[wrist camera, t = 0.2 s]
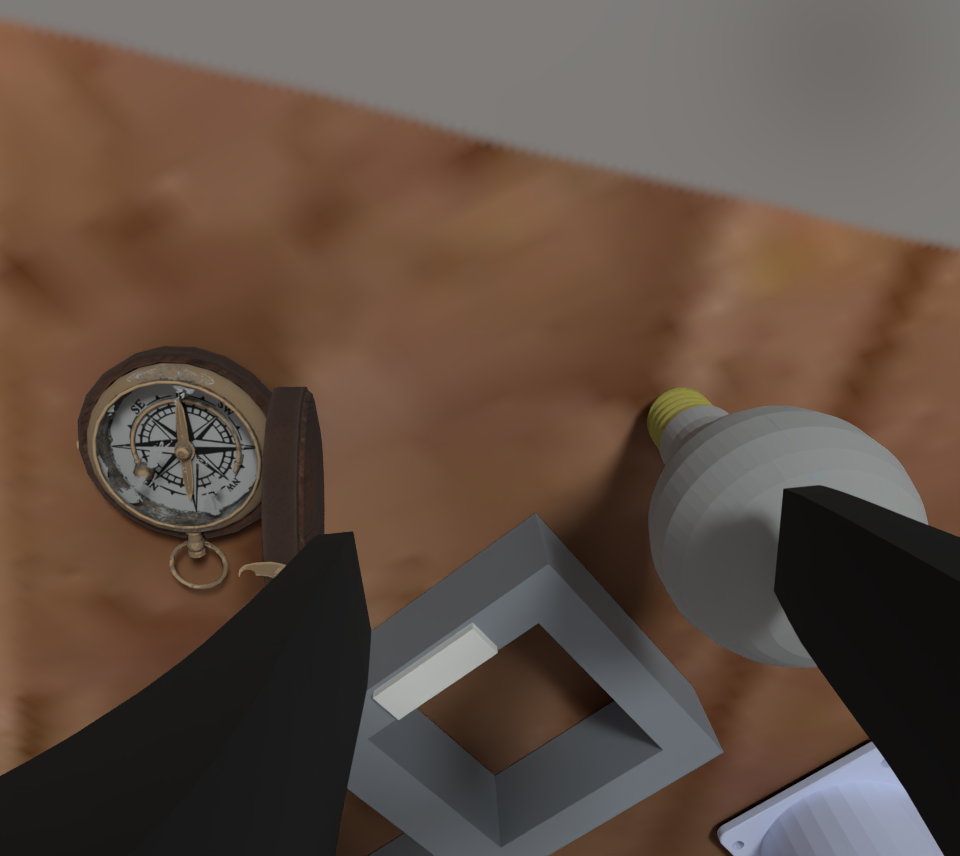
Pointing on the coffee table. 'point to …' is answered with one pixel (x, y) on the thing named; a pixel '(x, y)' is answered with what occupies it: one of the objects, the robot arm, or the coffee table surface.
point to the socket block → (556, 765)
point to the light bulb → (750, 509)
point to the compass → (206, 453)
